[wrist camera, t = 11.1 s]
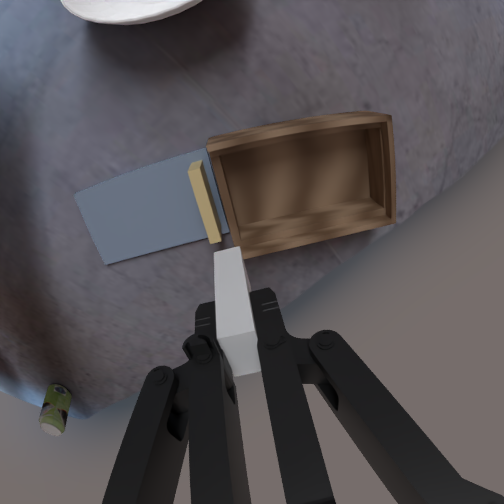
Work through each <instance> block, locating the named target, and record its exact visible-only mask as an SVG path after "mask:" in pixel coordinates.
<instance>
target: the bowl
mask: <svg viewBox="0 0 504 504" xmlns="http://www.w3.org/2000/svg"><path fill="white" fill-rule="evenodd" d="M60 1H61V2H62V4H63V6H64V7H65V8H66V9H68V10H69V11H70V12H71V13H72V14H73V15H76V16H78V17H80V18H82V19H83V20H87V21H92V22H96V23H103V24H118V25H132V24H143V23H148V22H152V21H156V20H161V19H164V18H167V17H169V16H172V15H175V14H178V13H180V12H182V11H184V10H186V9H188V8H190V7H192V6H194V5H196V4H198V3H199V2H201V1H202V0H60Z"/></svg>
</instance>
